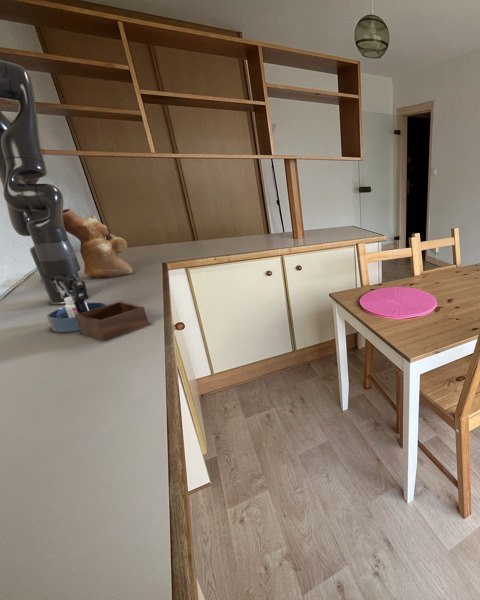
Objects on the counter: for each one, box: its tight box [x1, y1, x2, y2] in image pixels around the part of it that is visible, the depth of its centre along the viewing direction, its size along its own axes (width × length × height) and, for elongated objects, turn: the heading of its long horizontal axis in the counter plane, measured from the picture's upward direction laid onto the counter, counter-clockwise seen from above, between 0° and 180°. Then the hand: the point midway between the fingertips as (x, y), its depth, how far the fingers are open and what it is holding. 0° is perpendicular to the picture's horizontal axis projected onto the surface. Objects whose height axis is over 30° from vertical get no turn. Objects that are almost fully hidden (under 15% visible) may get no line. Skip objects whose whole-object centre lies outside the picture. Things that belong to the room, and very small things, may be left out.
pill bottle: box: [64, 296, 89, 318], centre depth 96 cm, size 5×5×8 cm
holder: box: [75, 300, 150, 342], centre depth 94 cm, size 12×12×6 cm
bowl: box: [46, 302, 107, 333], centre depth 97 cm, size 13×13×4 cm
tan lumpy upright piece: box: [63, 208, 134, 279], centre depth 138 cm, size 16×22×30 cm
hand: (77, 310), depth 96 cm, fingers closed on pill bottle, 4 cm apart
